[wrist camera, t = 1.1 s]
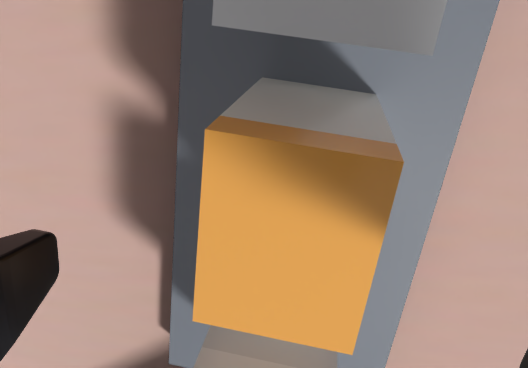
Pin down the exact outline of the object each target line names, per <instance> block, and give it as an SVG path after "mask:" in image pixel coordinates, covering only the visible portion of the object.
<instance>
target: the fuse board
mask: <svg viewBox="0 0 528 368" xmlns="http://www.w3.org/2000/svg"><path fill="white" fill-rule="evenodd" d="M499 1H500V0H447V3H446V7H445V11H444V14H443V18H442V22H441V26H440V29H439V33H438V37H437V41H436V44H435V48H434V52H433V56H430V55H423V54H416V53H408V52H401V51H394V50H387V49H379V48H372V47H365V46H358V45H351V44H343V43H336V42H329V41H322V40H314V39H307V38H300V37H293V36H285V35H278V34H271V33H264V32H257V31H249V30H242V29H235V28H228V27H220V26H213V25H212V14H213V0H183V12H182V38H181V64H180V89H179V115H178V141H177V166H176V192H175V218H174V243H173V269H172V295H171V320H170V346H169V364H172V365H176V366H181V367H185V368H193V367H194V365H195V362H196V360H197V357H198V355H199V353H200V350H201V348H202V345H203V343H204V340H205V338H206V335H207V333H208V330H209V328H210V325H208V324H203V323H199V322H194V321H192V320H193V305H194V290H195V274H196V259H197V244H198V228H199V213H200V198H201V182H202V167H203V152H204V136H205V129H206V128H207V127H208V126H209V125H210V124H211V123H212V122H213V121H215V120H216V119H217V118H218V117H219V116H220V115H221V114H222V113H223V112H224V111H226V110H227V109H228V108H229V107H230V106H231V105H232V104H233V103H234V102H235V101H237V100H238V99H239V98H240V97H241V96H242V95H243V94H244V93H245V92H246V91H248V90H249V89H250V88H251V87H252V86H253V85H254V84H255V83H256V82H257V81H259V80H260V79H261V78H262V77H264V78H270V79H277V80H284V81H290V82H297V83H304V84H310V85H317V86H324V87H331V88H337V89H344V90H351V91H357V92H364V93H371V94H376V95H377V98H378V100H379V102H380V105H381V107H382V110H383V112H384V114H385V117H386V119H387V122H388V124H389V127H390V129H391V131H392V134H393V136H394V139H395V141H396V144H397V146H398V148H399V151H400V153H401V156H402V158H403V160H404V164H403V168H402V172H401V175H400V179H399V183H398V187H397V190H396V194H395V198H394V202H393V205H392V209H391V213H390V217H389V220H388V224H387V228H386V232H385V235H384V239H383V243H382V247H381V250H380V254H379V258H378V261H377V265H376V269H375V273H374V276H373V280H372V284H371V288H370V291H369V295H368V299H367V303H366V306H365V310H364V314H363V318H362V321H361V325H360V329H359V333H358V336H357V340H356V344H355V348H354V351H353V355H349V354H344V353H340V352H337V368H385V366H386V362H387V359H388V356H389V353H390V350H391V346H392V343H393V340H394V337H395V334H396V330H397V327H398V324H399V321H400V318H401V314H402V311H403V308H404V305H405V302H406V298H407V295H408V292H409V289H410V286H411V282H412V279H413V276H414V273H415V270H416V266H417V263H418V260H419V257H420V254H421V250H422V247H423V244H424V241H425V238H426V234H427V231H428V228H429V225H430V222H431V218H432V215H433V212H434V209H435V206H436V202H437V199H438V196H439V193H440V190H441V186H442V183H443V180H444V177H445V174H446V170H447V167H448V164H449V161H450V158H451V154H452V151H453V148H454V145H455V142H456V138H457V135H458V132H459V129H460V126H461V122H462V119H463V116H464V113H465V110H466V106H467V103H468V100H469V97H470V94H471V90H472V87H473V84H474V81H475V78H476V74H477V71H478V68H479V65H480V62H481V58H482V55H483V52H484V49H485V46H486V42H487V39H488V36H489V33H490V30H491V26H492V23H493V20H494V17H495V13H496V10H497V7H498V4H499Z"/></svg>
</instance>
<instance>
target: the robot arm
mask: <svg viewBox="0 0 528 368" xmlns="http://www.w3.org/2000/svg"><path fill="white" fill-rule="evenodd" d="M58 273H59V259H58V248H57V239H56V237H55V235H54V234H53V233H51V232H46V231H41V230H36V229H32V230H28V231H24V232H20V233H17V234H13V235H9V236H6V237H2V238H0V361H1V360H2V359H3V357H4V356H5V355H6V354H7V352H8V351H9V350H10V348H11V347H12V346H13V344H14V343H15V341H16V340H17V339H18V337H19V336H20V334H21V333H22V331H23V330H24V328H25V327H26V325H27V324H28V322H29V321H30V319H31V318H32V316H33V315H34V313H35V311H36V310H37V308H38V307H39V305H40V304H41V302H42V301H43V299H44V298H45V296H46V295H47V293H48V292H49V290H50V289H51V287H52V286H53V284H54V283H55V281H56V279H57V277H58ZM520 368H528V349H527V351H526V353H525V355H524V357H523V359H522V362H521V364H520Z"/></svg>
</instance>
